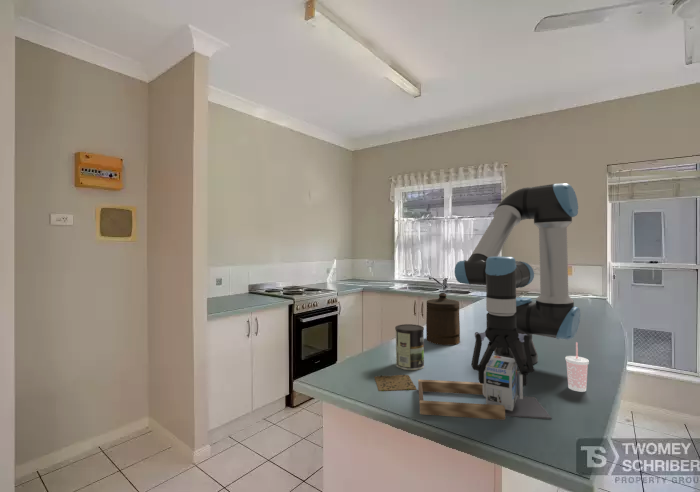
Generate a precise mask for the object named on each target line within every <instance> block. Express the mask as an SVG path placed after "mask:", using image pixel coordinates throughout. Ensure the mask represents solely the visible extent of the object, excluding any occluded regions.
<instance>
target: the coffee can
mask: <svg viewBox="0 0 700 492" xmlns="http://www.w3.org/2000/svg"><path fill="white" fill-rule="evenodd" d="M424 330H425V329H424V326H422V325H420V324H413V323H412V324H411V323H410V324H409V323H405V324H398V325H396V326H395V353H396V354H395V355H396V357H395V358H396V359H395V360H396V361H395V366H396V368H398V369H401V370H404V371H419V370H422V369H424V368H425V353H424V352H425V349H424V348H425V347H424V346H425V341H424Z"/></svg>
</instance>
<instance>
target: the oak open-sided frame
mask: <svg viewBox="0 0 700 492" xmlns="http://www.w3.org/2000/svg"><path fill="white" fill-rule="evenodd" d="M417 381H418V382H417V383H418V384H417V387H418V388H417V390H418V399H419V400H418V404H419V415H425V416H426V415H427V416H441V417H442V416H443V417H458V418H469V419H471V418H472V419H486V420H500V421H505V420H506V416H505V407H504V405H490V404H486V403H474V402H473V403H470V402H456V401H455V402H454V401H453V402H452V401H439V400H438V401H437V400H424V392H425V393H444V394H461V395H462V394H463V395H481V396H482V395H483V388H482V384H480V382H479V381H478V382H477V381H458V380H457V381H456V380H437V379H436V380H435V379H434V380H433V379H419V378H418V379H417ZM483 396H484V395H483Z"/></svg>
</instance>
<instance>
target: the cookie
mask: <svg viewBox="0 0 700 492" xmlns="http://www.w3.org/2000/svg"><path fill="white" fill-rule="evenodd" d="M373 378H374V381H375V384H376V387H377V391H378V392H396V391H397V392H398V391H400V392H401V391H417V390H418V388H417V387H416V385H415V383H414V382H413V380H412V378H411V376H410V375H408V374H395V375H394V374H393V375H376V376H374V377H373Z"/></svg>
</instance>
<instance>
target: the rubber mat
mask: <svg viewBox="0 0 700 492" xmlns="http://www.w3.org/2000/svg"><path fill="white" fill-rule="evenodd" d="M505 417H510V418H511V417H512V418H513V417H515V418H524V419H525V418H526V419H527V418H529V419H542V420H543V419H545V420H552V416H551V415H550V414H549V413H548V411H547V410H546V409H545V408H544V406H543V405H542V404H541V403H540V402H539V400H538V399H537V398H536V397H535V396H524V395H523V399H520V398H519V397H518V396H517V400H516V402H515V405H514V408H513V411H510V410H506V409H505Z"/></svg>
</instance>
